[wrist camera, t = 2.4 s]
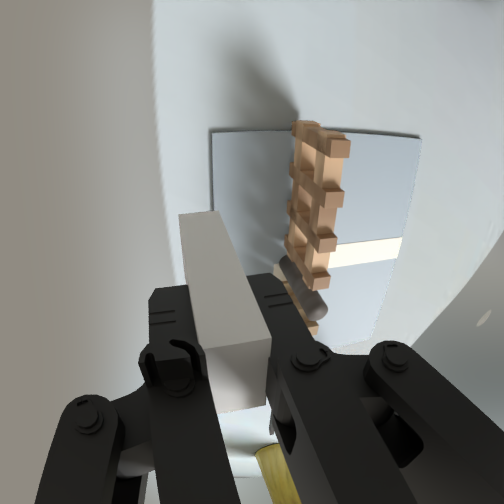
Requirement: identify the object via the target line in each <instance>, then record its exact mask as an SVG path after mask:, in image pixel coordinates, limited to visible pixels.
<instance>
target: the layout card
mask: <svg viewBox="0 0 504 504" xmlns="http://www.w3.org/2000/svg"><path fill="white" fill-rule="evenodd" d="M291 132H292V131H236V132H215V133H212V169H213V203H214V211H217V210H219V213H220V215H221V218H222V220H223V222H224V225H225V227H226V230H227V232H228V234H229V237H230V239H231V242H232V244H233V247H234V249H235V251H236V254H237V256H238V259H239V261H240V263H241V266H242V268H243V271H244V273H245V275H246V276H248V275H255V274H263V273H271V274H273V275H274V276H275V277H277V278H278V279H280V280H281V281H287V279H286V278H285V276H284V274H283V272H282V270H281V269H280V267H279V261H280V259H281V258H282V257H283V256H285V255H287V250H286V248H285V246H284V237H285V234H289V222H290V217H289V215H288V214H287V213H286V211H287V200H291V197H292V183H293V179H292V178H291V177H290V176H289V166H290V162H294V153H295V137H294V136H292V135H291ZM340 133H343V134H345V135H346V139H348V140H350V141H351V147H350V155H349V158H344V160H343V168H342V176H341V184H340V188H341V189H342V190H343V191H345V194H344V201H343V208H337V214H336V220H335V227H334V234H335V235H336V236H337V237H338V240H337V246H336V251H335V252H330V258H329V264H328V270H327V271H328V273H329V274H330V276H331V279H330V284H329V288H327V289H321V290H317V291H318V292H319V294H320V296H321V297H322V299H323V300H324V302H325V303H326V305H327V307H328V312H327V314H326V315H325V316H324V317H323V318H322V319H320V320H318V321H316V322H317V323H318V325H319V327H318V332H317V335H313V338H314V339H315V341H319V342H321V343H323V344H324V345H326V346H328V347H329V348H330V349H334V348H338V347H342V346H346V345H350V344H354V343H357V342H361V341H365V340H369V339H370V338H371V336H372V333H373V330H374V327H375V324H376V322H377V319H378V316H379V313H380V310H381V307H382V304H383V301H384V298H385V295H386V292H387V288H388V285H389V282H390V279H391V275H392V272H393V269H394V265H395V262H396V258H397V256H398V252H399V248H400V245H401V241H402V236H403V232H404V228H405V224H406V220H407V216H408V211H409V207H410V202H411V198H412V193H413V188H414V184H415V179H416V173H417V168H418V163H419V157H420V151H421V145H422V139H418V138H409V137H400V136H390V135H378V134H365V133H349V132H340Z"/></svg>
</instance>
